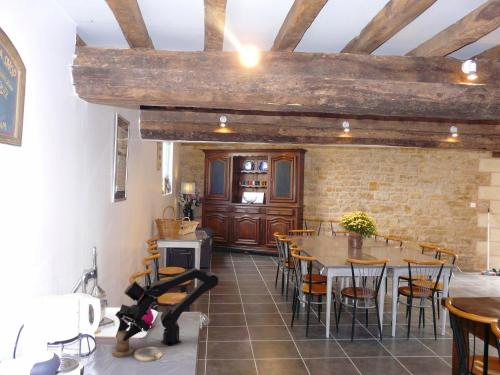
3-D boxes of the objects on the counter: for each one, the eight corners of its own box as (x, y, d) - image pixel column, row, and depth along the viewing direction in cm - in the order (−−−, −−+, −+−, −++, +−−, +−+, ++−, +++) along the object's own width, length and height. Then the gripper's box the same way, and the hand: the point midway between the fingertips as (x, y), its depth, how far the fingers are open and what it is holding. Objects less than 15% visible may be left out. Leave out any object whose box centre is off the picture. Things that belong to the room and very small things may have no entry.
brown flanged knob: (126, 347, 180) (126, 327, 180) (136, 353, 175) (136, 332, 174) (109, 353, 174) (109, 332, 174) (118, 359, 169) (119, 337, 169)
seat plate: (154, 346, 182) (154, 340, 182) (168, 355, 173) (168, 348, 173) (128, 354, 174) (128, 347, 174) (142, 364, 165) (142, 356, 165)
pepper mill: (149, 330, 201) (150, 290, 200) (135, 329, 202) (136, 289, 201) (155, 325, 208) (156, 286, 207) (142, 324, 209) (143, 285, 209)
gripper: (119, 292, 183) (96, 323, 175) (144, 301, 171) (120, 335, 163) (134, 306, 189) (112, 336, 181) (159, 315, 177) (137, 348, 169)
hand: (120, 338), depth 173 cm, fingers closed on brown flanged knob, 5 cm apart
